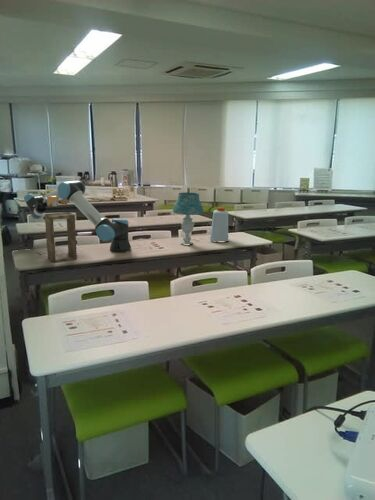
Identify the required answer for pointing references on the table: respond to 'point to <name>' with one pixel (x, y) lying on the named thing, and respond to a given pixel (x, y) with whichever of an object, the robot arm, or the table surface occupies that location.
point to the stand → (70, 233)
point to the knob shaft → (52, 200)
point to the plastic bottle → (219, 225)
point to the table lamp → (188, 212)
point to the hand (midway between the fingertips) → (48, 197)
